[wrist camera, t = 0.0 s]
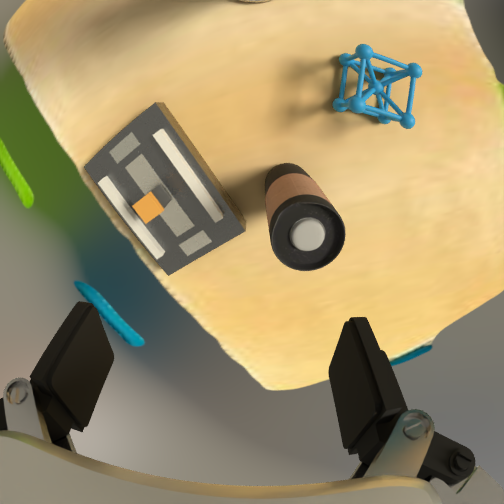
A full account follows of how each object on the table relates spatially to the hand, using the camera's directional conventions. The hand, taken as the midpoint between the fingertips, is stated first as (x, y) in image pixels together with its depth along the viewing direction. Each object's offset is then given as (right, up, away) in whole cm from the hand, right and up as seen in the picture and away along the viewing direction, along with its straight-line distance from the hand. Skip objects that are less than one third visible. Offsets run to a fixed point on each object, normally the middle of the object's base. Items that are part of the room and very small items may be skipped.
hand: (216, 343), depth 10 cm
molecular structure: (+19, +29, +27) cm, 44 cm away
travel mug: (+7, +14, +35) cm, 38 cm away
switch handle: (-13, +12, +31) cm, 36 cm away
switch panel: (-13, +14, +35) cm, 40 cm away
